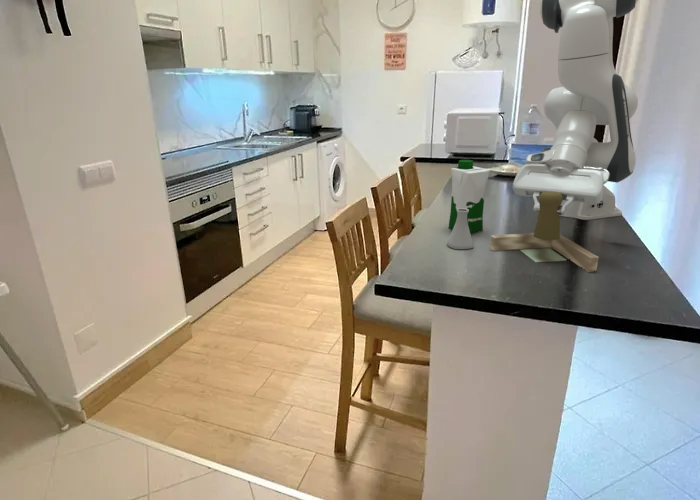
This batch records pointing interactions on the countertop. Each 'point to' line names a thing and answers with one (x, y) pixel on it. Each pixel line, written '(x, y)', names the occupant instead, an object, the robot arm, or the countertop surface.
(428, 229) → the countertop surface
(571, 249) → the corner arena
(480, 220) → the milk carton
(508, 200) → the countertop surface
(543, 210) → the cork
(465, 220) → the flask
